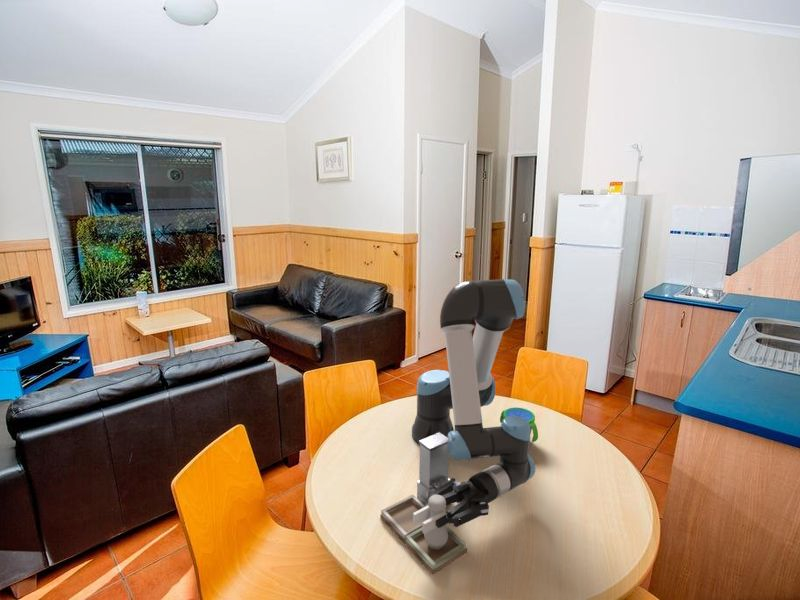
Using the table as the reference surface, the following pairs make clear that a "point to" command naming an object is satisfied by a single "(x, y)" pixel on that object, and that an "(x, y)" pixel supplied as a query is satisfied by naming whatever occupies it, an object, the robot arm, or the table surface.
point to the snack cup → (524, 414)
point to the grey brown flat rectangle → (421, 535)
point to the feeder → (432, 466)
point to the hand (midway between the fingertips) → (418, 523)
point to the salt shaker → (436, 535)
